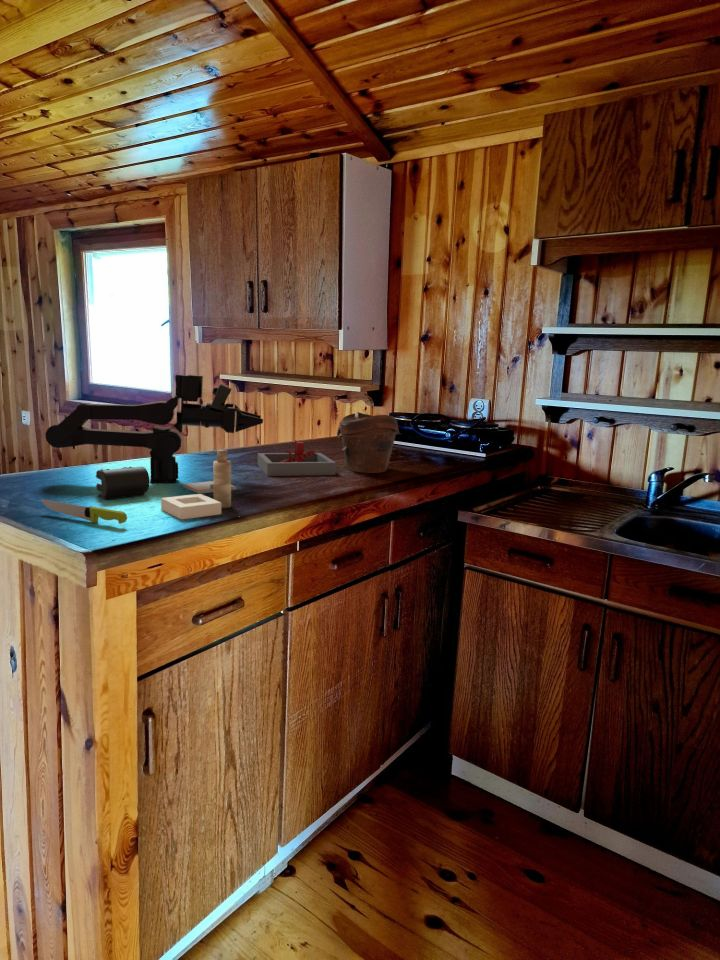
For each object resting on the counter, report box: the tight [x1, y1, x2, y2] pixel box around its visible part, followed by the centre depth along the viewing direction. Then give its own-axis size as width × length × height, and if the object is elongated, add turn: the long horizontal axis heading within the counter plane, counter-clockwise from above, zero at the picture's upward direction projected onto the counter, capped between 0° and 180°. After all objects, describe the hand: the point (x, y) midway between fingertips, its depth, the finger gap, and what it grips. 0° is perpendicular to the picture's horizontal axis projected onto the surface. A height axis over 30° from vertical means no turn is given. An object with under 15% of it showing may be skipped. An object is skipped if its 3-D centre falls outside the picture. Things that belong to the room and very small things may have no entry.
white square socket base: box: [160, 493, 222, 520], centre depth 133 cm, size 10×9×2 cm
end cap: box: [95, 466, 151, 500], centre depth 144 cm, size 10×7×7 cm
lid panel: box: [182, 480, 237, 494], centre depth 157 cm, size 9×10×2 cm
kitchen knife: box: [40, 498, 128, 525], centre depth 123 cm, size 22×1×3 cm, turn 66°
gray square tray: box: [257, 452, 337, 477], centre depth 188 cm, size 20×19×4 cm
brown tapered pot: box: [336, 411, 400, 474], centre depth 193 cm, size 18×20×18 cm
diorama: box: [281, 439, 316, 462], centre depth 188 cm, size 11×12×8 cm
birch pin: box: [212, 449, 232, 509], centre depth 138 cm, size 4×4×12 cm
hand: (261, 419), depth 167 cm, fingers open, 9 cm apart
